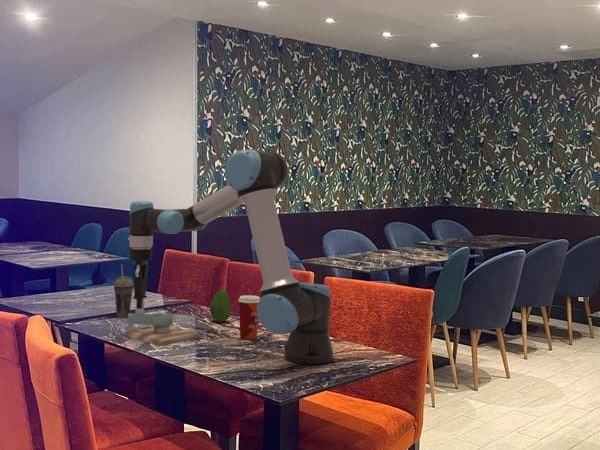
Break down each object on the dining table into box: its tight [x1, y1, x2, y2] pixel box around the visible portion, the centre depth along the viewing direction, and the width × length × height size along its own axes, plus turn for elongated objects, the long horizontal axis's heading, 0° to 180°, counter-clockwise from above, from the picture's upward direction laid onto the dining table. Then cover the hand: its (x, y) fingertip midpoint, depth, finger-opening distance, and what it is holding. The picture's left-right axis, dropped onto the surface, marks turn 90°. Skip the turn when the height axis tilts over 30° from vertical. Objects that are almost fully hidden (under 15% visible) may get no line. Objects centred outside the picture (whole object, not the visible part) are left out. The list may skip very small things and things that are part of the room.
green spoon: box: [127, 312, 174, 326], centre depth 230 cm, size 14×7×3 cm, turn 94°
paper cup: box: [237, 294, 261, 341], centre depth 234 cm, size 8×8×14 cm
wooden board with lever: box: [124, 325, 199, 346], centre depth 231 cm, size 18×16×4 cm
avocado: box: [209, 289, 232, 323], centre depth 257 cm, size 8×8×12 cm
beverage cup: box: [113, 263, 134, 319], centre depth 258 cm, size 7×7×20 cm
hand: (139, 317), depth 232 cm, fingers closed
